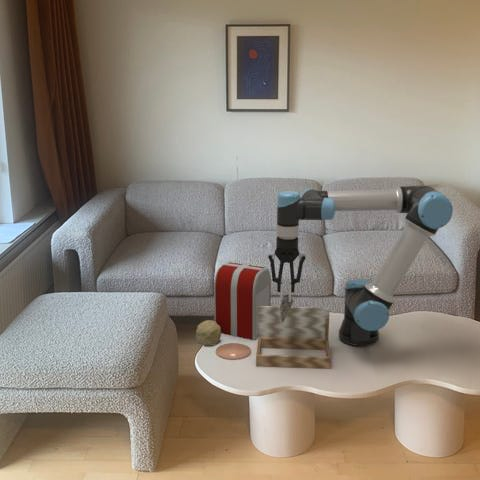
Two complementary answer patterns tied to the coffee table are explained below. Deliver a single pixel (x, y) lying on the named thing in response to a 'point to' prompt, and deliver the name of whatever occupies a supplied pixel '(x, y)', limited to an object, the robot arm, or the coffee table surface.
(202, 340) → the decorative object
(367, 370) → the coffee table surface
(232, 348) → the peach round smooth part
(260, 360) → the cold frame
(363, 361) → the coffee table surface
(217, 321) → the red striped box
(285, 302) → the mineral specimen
